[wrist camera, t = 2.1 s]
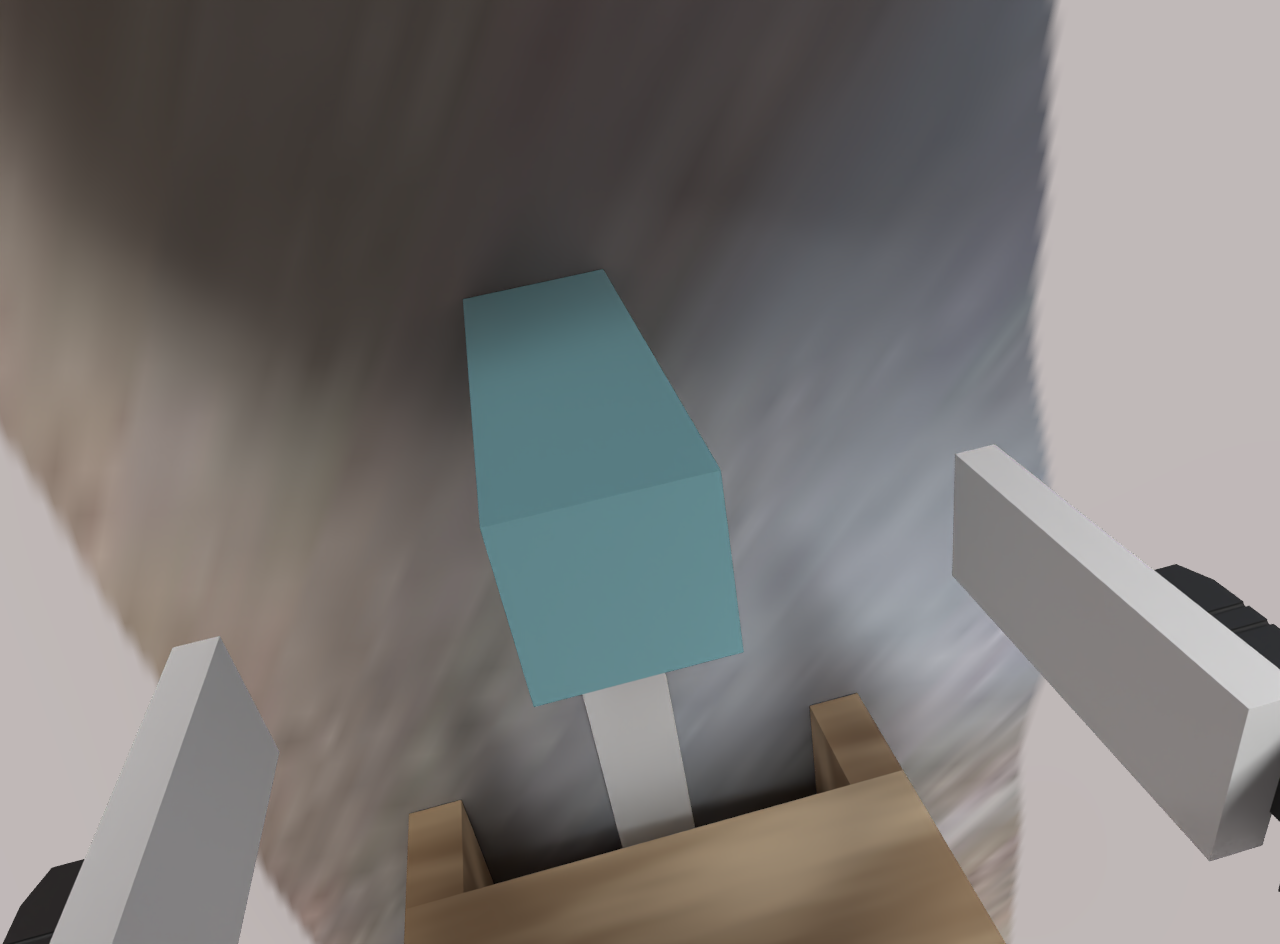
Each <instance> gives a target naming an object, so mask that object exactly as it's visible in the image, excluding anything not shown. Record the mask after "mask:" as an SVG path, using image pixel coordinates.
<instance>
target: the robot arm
mask: <svg viewBox="0 0 1280 944" xmlns="http://www.w3.org/2000/svg"><path fill="white" fill-rule="evenodd" d="M952 576H953V577H954V578H955V579H956V580H957V581H958V582H959V583H960V585H961V586H962V587H963V588H964V589H965V590H966V591H967V592H968V593H969V595H970V596H971V597H972V598H973V599H974V600H975V601H976V602H977V603H978V605H979V606H980V607H981V608H982V609H983V610H984V611H985V612H986V613H987V615H988V616H989V617H990V618H991V619H992V620H993V621H994V622H995V623H996V625H997V626H998V627H999V628H1000V629H1001V630H1002V631H1003V632H1004V633H1005V635H1006V636H1007V637H1008V638H1009V639H1010V640H1011V641H1012V642H1013V643H1014V645H1015V646H1016V647H1017V648H1018V649H1019V650H1020V651H1021V652H1022V653H1023V655H1024V656H1025V657H1026V658H1027V659H1028V660H1029V661H1030V662H1031V663H1032V665H1033V666H1034V667H1035V668H1036V669H1037V670H1038V671H1039V672H1040V673H1041V675H1042V676H1043V677H1044V678H1045V679H1046V680H1047V681H1048V682H1049V683H1050V685H1051V686H1052V687H1053V688H1054V689H1055V690H1056V691H1057V692H1058V693H1059V694H1060V695H1061V697H1062V698H1063V699H1064V700H1065V701H1066V702H1067V703H1068V705H1069V706H1070V707H1071V708H1072V709H1073V710H1074V711H1075V712H1076V713H1077V715H1078V716H1079V717H1080V718H1081V719H1082V720H1083V721H1084V722H1085V723H1086V725H1088V727H1089V728H1090V729H1091V730H1092V731H1093V732H1094V733H1095V734H1096V736H1097V737H1098V738H1099V739H1100V740H1101V741H1102V742H1103V743H1104V745H1105V746H1106V747H1107V748H1108V749H1109V750H1110V751H1111V752H1112V753H1113V755H1114V756H1115V757H1116V758H1117V759H1118V760H1119V761H1120V762H1121V763H1122V765H1123V766H1124V767H1125V768H1126V769H1127V770H1128V771H1129V772H1130V773H1131V775H1132V776H1133V777H1134V778H1135V779H1136V780H1137V781H1138V782H1139V783H1140V784H1141V786H1142V787H1143V788H1144V789H1145V790H1146V791H1147V792H1148V793H1149V794H1150V796H1151V797H1152V798H1153V799H1154V800H1155V801H1156V802H1157V803H1158V804H1159V806H1160V807H1161V808H1162V809H1163V810H1164V811H1165V812H1166V813H1167V814H1168V815H1169V817H1170V818H1171V819H1172V820H1173V821H1174V822H1175V823H1176V825H1177V826H1178V827H1179V828H1180V829H1181V830H1182V831H1183V832H1184V833H1185V835H1186V836H1187V837H1188V838H1189V839H1190V840H1191V841H1192V842H1193V843H1194V845H1195V846H1196V847H1197V848H1198V849H1199V850H1200V851H1201V852H1202V853H1203V854H1204V856H1205V857H1206V858H1207V859H1208V860H1209V861H1212V860H1215V859H1219V858H1222V857H1226V856H1229V855H1232V854H1235V853H1238V852H1242V851H1245V850H1248V849H1252V848H1255V847H1258V846H1261V845H1262V844H1263V841H1264V838H1265V834H1266V831H1267V828H1268V824H1269V821H1270V818H1271V814H1272V815H1274V816H1275V817H1276V818H1277V819H1278V820H1279V821H1280V628H1278V627H1277V626H1276V625H1274V624H1271V625H1270V624H1268V622H1267V619H1266V618H1265V617H1263V616H1262V615H1261V614H1259V613H1258V612H1257V611H1255V610H1254V609H1253V608H1251V607H1250V606H1247V607H1245V606H1244V604H1243V601H1242V600H1240V599H1239V598H1238V597H1236V596H1235V595H1234V594H1232V593H1231V592H1229V591H1228V590H1227V589H1226V588H1224V587H1223V586H1221V585H1220V584H1219V583H1217V582H1216V581H1215V580H1213V579H1211V578H1208V577H1205V576H1203V575H1201V574H1199V573H1196V572H1194V571H1191V570H1189V569H1187V568H1184V567H1182V566H1179V565H1177V564H1175V565H1171V566H1168V567H1164V568H1160V569H1156V570H1153V569H1152V568H1151V567H1149V566H1148V565H1147V564H1145V563H1144V562H1143V561H1142V560H1141V559H1139V558H1138V557H1137V556H1135V555H1134V554H1133V553H1132V552H1130V551H1129V550H1128V549H1127V548H1125V547H1124V546H1123V545H1122V544H1120V543H1119V542H1118V541H1116V540H1115V539H1114V538H1113V537H1111V536H1110V535H1109V534H1107V533H1106V532H1105V531H1104V530H1103V529H1101V528H1100V527H1099V526H1098V525H1096V524H1095V523H1094V522H1092V521H1091V520H1090V519H1089V518H1087V517H1086V516H1085V515H1084V514H1082V513H1081V512H1079V510H1077V509H1076V508H1075V507H1073V506H1072V505H1071V504H1069V503H1068V502H1067V501H1066V500H1065V499H1063V498H1062V497H1061V496H1060V495H1058V494H1057V493H1056V492H1054V491H1053V490H1052V489H1051V488H1049V487H1048V486H1047V485H1046V484H1044V483H1043V482H1042V481H1041V480H1039V479H1038V478H1037V477H1035V476H1034V475H1033V474H1032V473H1030V472H1029V471H1028V470H1027V469H1025V468H1024V467H1023V466H1022V465H1020V464H1019V463H1018V462H1016V461H1015V460H1014V459H1013V458H1011V457H1010V456H1009V455H1008V454H1006V453H1005V452H1004V451H1003V450H1001V449H1000V448H999V447H997V446H996V445H995V444H993V445H989V446H985V447H981V448H977V449H973V450H969V451H965V452H961V453H957V454H955V482H954V523H953V564H952ZM278 756H279V750H278V748H277V746H276V744H275V742H274V740H273V738H272V736H271V734H270V733H269V731H268V729H267V727H266V725H265V723H264V721H263V719H262V717H261V715H260V713H259V711H258V709H257V707H256V705H255V703H254V702H253V700H252V698H251V696H250V694H249V692H248V690H247V688H246V686H245V684H244V682H243V680H242V678H241V676H240V674H239V672H238V670H237V669H236V667H235V665H234V663H233V661H232V659H231V657H230V655H229V653H228V651H227V649H226V647H225V645H224V643H223V641H222V639H221V638H220V636H218V637H214V638H210V639H206V640H202V641H198V642H194V643H190V644H186V645H182V646H177V647H173V648H172V651H171V653H170V656H169V658H168V660H167V663H166V665H165V668H164V670H163V672H162V675H161V677H160V680H159V682H158V684H157V687H156V689H155V692H154V694H153V696H152V699H151V701H150V704H149V706H148V708H147V711H146V713H145V716H144V718H143V720H142V723H141V725H140V728H139V730H138V732H137V735H136V737H135V740H134V742H133V744H132V747H131V749H130V752H129V754H128V757H127V759H126V761H125V764H124V766H123V768H122V771H121V773H120V775H119V778H118V780H117V783H116V785H115V787H114V790H113V792H112V795H111V797H110V799H109V802H108V804H107V807H106V809H105V811H104V814H103V816H102V819H101V821H100V823H99V826H98V828H97V831H96V833H95V836H94V838H93V840H92V843H91V845H90V847H89V850H88V852H87V855H86V857H85V859H83V860H79V861H75V862H72V863H68V864H64V865H60V866H57V867H53V868H51V870H50V871H49V872H48V873H47V874H46V876H45V877H44V878H43V879H42V880H41V882H40V883H39V884H38V885H37V886H36V888H35V889H34V890H33V891H32V892H31V894H30V895H29V896H28V897H27V899H26V900H25V901H24V902H23V904H22V905H21V906H20V908H19V910H18V912H17V914H16V917H15V919H14V921H13V923H12V925H11V927H10V929H9V931H8V934H7V936H6V938H5V940H4V942H3V944H238V941H239V936H240V932H241V927H242V923H243V918H244V913H245V909H246V904H247V899H248V895H249V890H250V886H251V881H252V876H253V872H254V867H255V862H256V858H257V853H258V849H259V844H260V839H261V835H262V830H263V825H264V821H265V816H266V811H267V807H268V802H269V798H270V793H271V788H272V784H273V779H274V774H275V770H276V765H277V761H278ZM1279 892H1280V886H1279Z"/></svg>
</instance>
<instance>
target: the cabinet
mask: <svg viewBox="0 0 1280 944" xmlns="http://www.w3.org/2000/svg"><path fill="white" fill-rule="evenodd" d="M810 717H811V729H812V742H813V755H814V768H815V780H816V793H817V794H816V795H812V796H809V797H805V798H801V799H798V800H794V801H791V802H787V803H783V804H780V805H776V806H773V807H769V808H766V809H762V810H758V811H755V812H751V813H748V814H744V815H741V816H737V817H733V818H730V819H726V820H723V821H719V822H716V823H712V824H708V825H705V826H701V827H698V828H694V829H691V830H687V831H683V832H680V833H676V834H673V835H669V836H666V837H662V838H658V839H655V840H651V841H648V842H644V843H640V844H637V845H633V846H630V847H626V848H623V849H619V850H615V851H612V852H608V853H605V854H601V855H598V856H594V857H590V858H587V859H583V860H580V861H576V862H573V863H569V864H565V865H562V866H558V867H555V868H551V869H548V870H544V871H540V872H537V873H533V874H530V875H526V876H523V877H519V878H515V879H512V880H508V881H505V882H501V883H497V884H494V883H493V880H492V878H491V875H490V873H489V870H488V868H487V865H486V862H485V860H484V857H483V855H482V852H481V850H480V847H479V845H478V842H477V839H476V837H475V834H474V832H473V829H472V827H471V824H470V821H469V819H468V816H467V814H466V811H465V809H464V806H463V803H462V801H461V800H459V801H455V802H452V803H448V804H444V805H441V806H437V807H433V808H429V809H426V810H422V811H418V812H415V813H411V814H409V829H408V856H407V882H406V908H405V934H404V944H1006V943H1005V941H1004V940H1003V938H1002V936H1001V935H1000V933H999V931H998V930H997V928H996V926H995V925H994V923H993V921H992V920H991V918H990V916H989V914H988V913H987V911H986V909H985V908H984V906H983V904H982V903H981V901H980V899H979V898H978V896H977V894H976V893H975V891H974V889H973V887H972V886H971V884H970V882H969V881H968V879H967V877H966V876H965V874H964V872H963V871H962V869H961V867H960V866H959V864H958V862H957V860H956V859H955V857H954V855H953V854H952V852H951V850H950V849H949V847H948V845H947V844H946V842H945V840H944V839H943V837H942V835H941V833H940V832H939V830H938V828H937V827H936V825H935V823H934V822H933V820H932V818H931V817H930V815H929V813H928V812H927V810H926V808H925V806H924V805H923V803H922V801H921V800H920V798H919V796H918V795H917V793H916V791H915V790H914V788H913V786H912V785H911V783H910V781H909V780H908V778H907V776H906V774H905V773H904V771H903V769H902V768H901V766H900V764H899V763H898V761H897V759H896V758H895V756H894V754H893V753H892V751H891V749H890V747H889V746H888V744H887V742H886V741H885V739H884V737H883V736H882V734H881V732H880V731H879V729H878V727H877V726H876V724H875V722H874V720H873V719H872V717H871V715H870V714H869V712H868V710H867V709H866V707H865V705H864V704H863V702H862V700H861V699H860V697H859V695H858V693H856V694H852V695H849V696H845V697H841V698H838V699H834V700H830V701H826V702H823V703H819V704H815V705H812V706H810Z"/></svg>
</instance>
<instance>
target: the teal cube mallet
mask: <svg viewBox="0 0 1280 944" xmlns="http://www.w3.org/2000/svg"><path fill="white" fill-rule="evenodd" d="M463 307H464V320H465V334H466V347H467V361H468V374H469V388H470V401H471V415H472V428H473V442H474V455H475V469H476V482H477V495H478V509H479V522H480V530H481V533H482V537H483V540H484V543H485V547H486V550H487V553H488V557H489V560H490V563H491V566H492V570H493V573H494V576H495V580H496V583H497V586H498V590H499V593H500V596H501V600H502V603H503V606H504V610H505V613H506V616H507V620H508V623H509V626H510V629H511V633H512V636H513V639H514V643H515V646H516V649H517V653H518V656H519V659H520V663H521V666H522V669H523V673H524V676H525V679H526V683H527V686H528V689H529V693H530V696H531V699H532V702H533V706H534V707H536V706H540V705H544V704H548V703H552V702H555V701H559V700H563V699H567V698H571V697H574V696H578V695H582V694H583V698H584V702H585V706H586V710H587V714H588V718H589V721H590V725H591V729H592V733H593V737H594V741H595V745H596V748H597V752H598V756H599V760H600V764H601V768H602V771H603V775H604V779H605V783H606V787H607V791H608V795H609V798H610V802H611V806H612V810H613V814H614V818H615V822H616V825H617V829H618V833H619V837H620V841H621V845H622V849H623V848H626V847H630V846H633V845H637V844H640V843H644V842H648V841H651V840H655V839H658V838H662V837H666V836H669V835H673V834H676V833H680V832H683V831H687V830H691V829H694V828H695V825H694V820H693V814H692V809H691V804H690V799H689V793H688V788H687V783H686V777H685V772H684V767H683V762H682V756H681V751H680V746H679V740H678V735H677V730H676V725H675V719H674V714H673V709H672V704H671V698H670V693H669V688H668V682H667V677H666V672H670V671H674V670H678V669H681V668H685V667H689V666H693V665H697V664H700V663H704V662H708V661H712V660H716V659H719V658H723V657H727V656H731V655H735V654H739V653H742V652H744V651H743V644H742V636H741V628H740V620H739V612H738V604H737V596H736V588H735V580H734V572H733V564H732V556H731V548H730V540H729V533H728V525H727V517H726V509H725V501H724V493H723V485H722V477H721V470H720V468H719V466H718V465H717V463H716V461H715V460H714V458H713V456H712V454H711V453H710V451H709V449H708V448H707V446H706V444H705V443H704V441H703V439H702V437H701V436H700V434H699V432H698V431H697V429H696V427H695V425H694V424H693V422H692V420H691V419H690V417H689V415H688V413H687V412H686V410H685V408H684V407H683V405H682V403H681V401H680V400H679V398H678V396H677V395H676V393H675V391H674V390H673V388H672V386H671V384H670V383H669V381H668V379H667V378H666V376H665V374H664V372H663V371H662V369H661V367H660V366H659V364H658V362H657V360H656V359H655V357H654V355H653V354H652V352H651V350H650V348H649V347H648V345H647V343H646V342H645V340H644V338H643V337H642V335H641V333H640V331H639V330H638V328H637V326H636V325H635V323H634V321H633V319H632V318H631V316H630V314H629V313H628V311H627V309H626V307H625V306H624V304H623V302H622V301H621V299H620V297H619V295H618V294H617V292H616V290H615V289H614V287H613V285H612V283H611V282H610V280H609V278H608V277H607V275H606V273H605V272H604V270H603V269H601V270H597V271H592V272H587V273H583V274H578V275H573V276H569V277H564V278H560V279H555V280H550V281H546V282H541V283H536V284H532V285H527V286H522V287H518V288H513V289H508V290H504V291H499V292H495V293H490V294H485V295H481V296H476V297H471V298H467V299H463Z"/></svg>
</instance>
